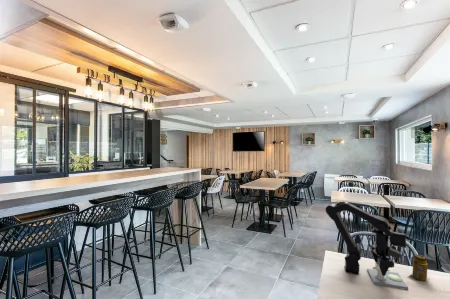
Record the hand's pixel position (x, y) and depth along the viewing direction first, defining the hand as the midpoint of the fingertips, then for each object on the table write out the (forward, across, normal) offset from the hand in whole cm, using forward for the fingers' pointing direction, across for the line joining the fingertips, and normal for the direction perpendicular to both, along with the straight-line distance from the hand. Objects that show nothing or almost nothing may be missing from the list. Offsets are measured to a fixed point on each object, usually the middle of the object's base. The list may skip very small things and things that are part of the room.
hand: (380, 270), depth 124 cm
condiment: (+5, +8, -20) cm, 22 cm away
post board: (+5, +2, -3) cm, 6 cm away
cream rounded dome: (0, 0, 0) cm, 0 cm away
